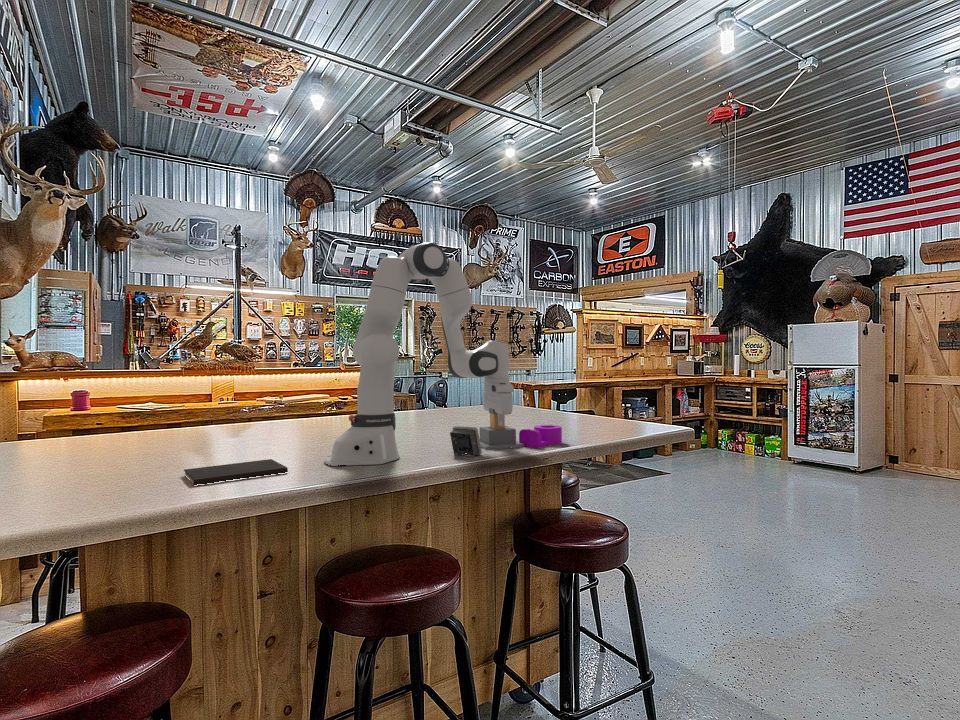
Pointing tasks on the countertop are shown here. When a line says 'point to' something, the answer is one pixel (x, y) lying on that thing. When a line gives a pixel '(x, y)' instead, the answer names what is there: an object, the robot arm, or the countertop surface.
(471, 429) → the electrical switch
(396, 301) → the robot arm
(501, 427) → the tan jar
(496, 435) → the socket
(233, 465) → the hardcover book
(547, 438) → the tape dispenser
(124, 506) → the countertop surface
